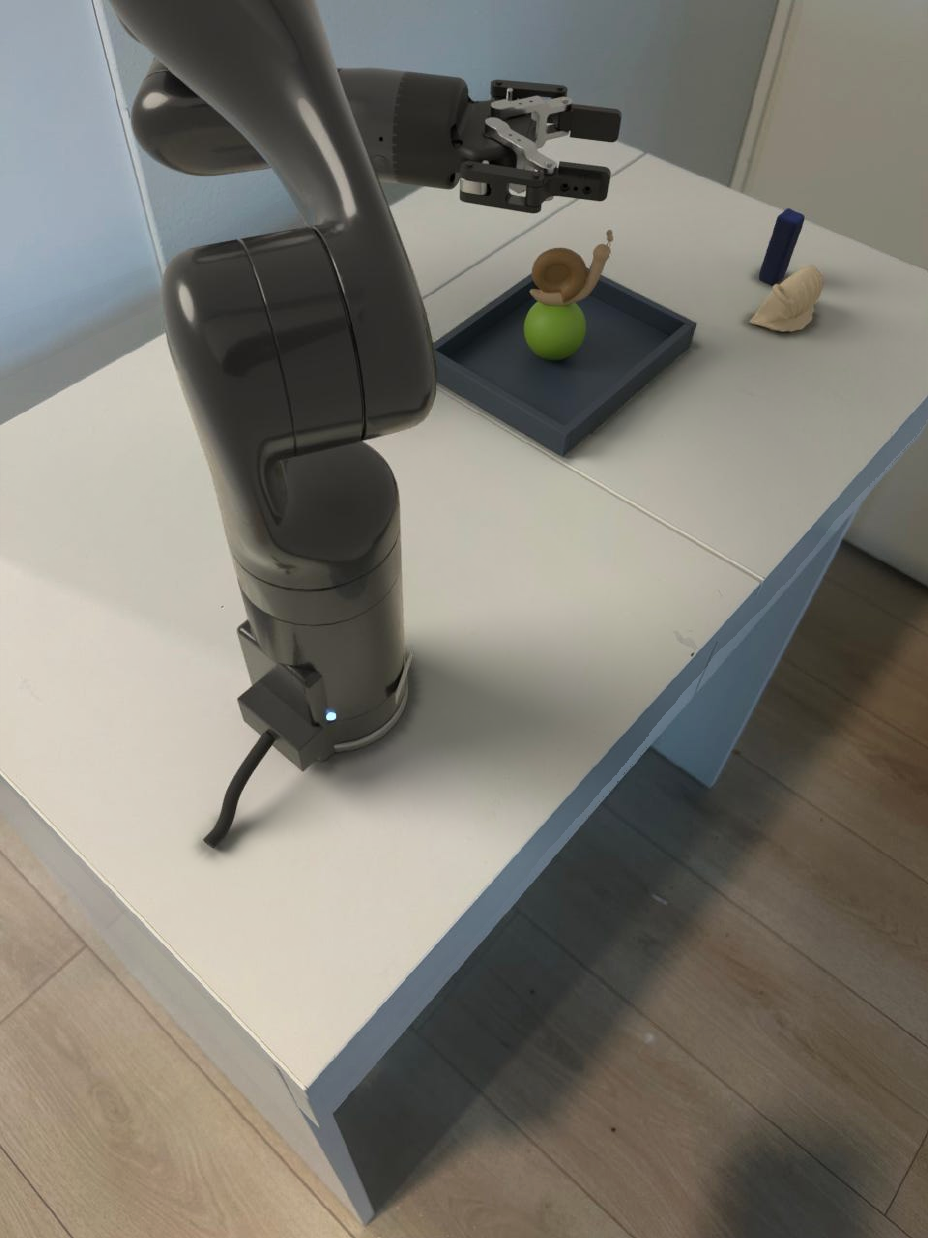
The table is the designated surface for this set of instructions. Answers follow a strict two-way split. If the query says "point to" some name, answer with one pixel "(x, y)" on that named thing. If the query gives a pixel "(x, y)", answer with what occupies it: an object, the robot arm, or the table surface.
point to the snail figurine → (561, 300)
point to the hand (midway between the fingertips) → (614, 154)
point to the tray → (561, 361)
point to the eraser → (781, 246)
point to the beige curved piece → (791, 301)
